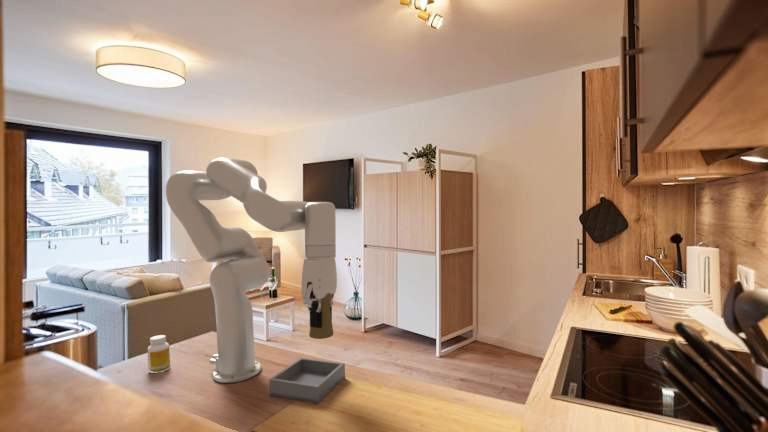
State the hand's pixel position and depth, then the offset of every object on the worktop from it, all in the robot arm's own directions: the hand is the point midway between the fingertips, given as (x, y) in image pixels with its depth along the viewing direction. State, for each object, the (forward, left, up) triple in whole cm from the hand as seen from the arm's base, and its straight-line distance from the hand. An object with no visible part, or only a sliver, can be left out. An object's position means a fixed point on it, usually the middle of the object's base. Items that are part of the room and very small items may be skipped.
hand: (321, 323), depth 95 cm
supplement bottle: (-52, -4, -17) cm, 55 cm away
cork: (0, 0, -3) cm, 3 cm away
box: (-4, 0, -16) cm, 17 cm away
